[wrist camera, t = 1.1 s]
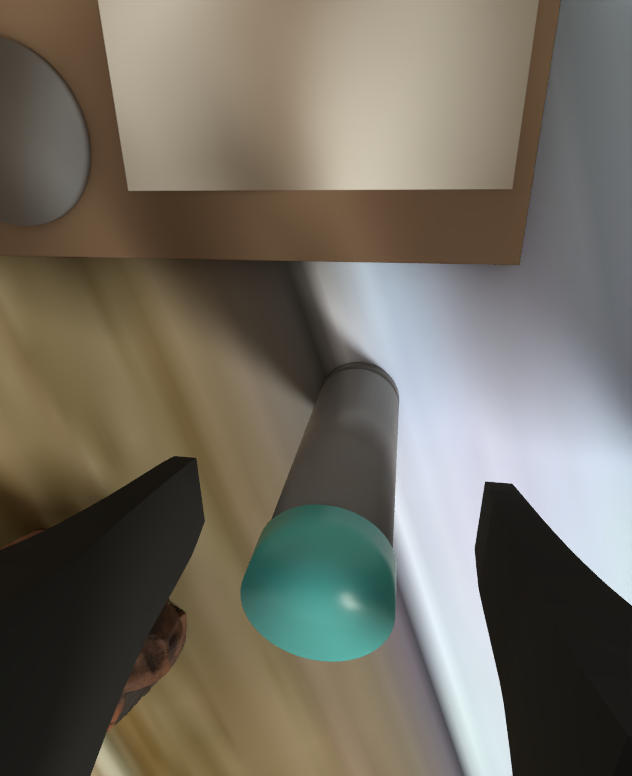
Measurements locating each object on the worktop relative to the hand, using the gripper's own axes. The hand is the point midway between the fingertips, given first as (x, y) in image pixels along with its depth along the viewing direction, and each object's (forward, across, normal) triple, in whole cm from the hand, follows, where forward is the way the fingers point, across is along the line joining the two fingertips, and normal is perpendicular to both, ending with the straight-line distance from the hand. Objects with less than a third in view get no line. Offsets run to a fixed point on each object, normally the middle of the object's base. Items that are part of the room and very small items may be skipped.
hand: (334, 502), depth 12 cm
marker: (+6, 0, 0) cm, 6 cm away
